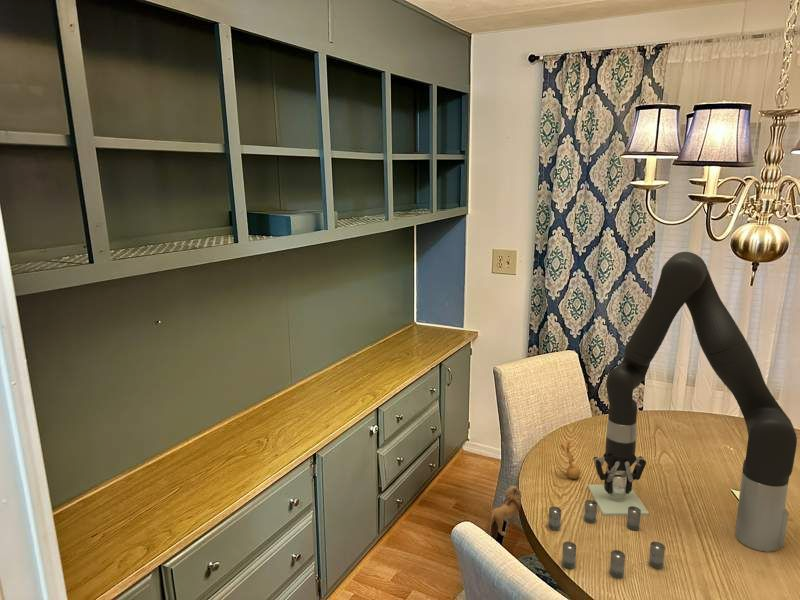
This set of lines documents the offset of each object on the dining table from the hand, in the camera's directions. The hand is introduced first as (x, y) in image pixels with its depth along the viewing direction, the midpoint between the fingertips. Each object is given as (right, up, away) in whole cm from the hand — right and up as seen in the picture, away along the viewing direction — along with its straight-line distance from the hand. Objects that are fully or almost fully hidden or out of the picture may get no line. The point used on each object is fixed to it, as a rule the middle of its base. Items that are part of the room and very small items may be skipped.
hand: (617, 492), depth 151 cm
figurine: (-9, 0, +13) cm, 16 cm away
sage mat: (0, -2, +1) cm, 3 cm away
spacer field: (-11, -7, -17) cm, 22 cm away
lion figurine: (-33, -6, -9) cm, 35 cm away
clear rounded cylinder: (0, -1, 0) cm, 1 cm away
